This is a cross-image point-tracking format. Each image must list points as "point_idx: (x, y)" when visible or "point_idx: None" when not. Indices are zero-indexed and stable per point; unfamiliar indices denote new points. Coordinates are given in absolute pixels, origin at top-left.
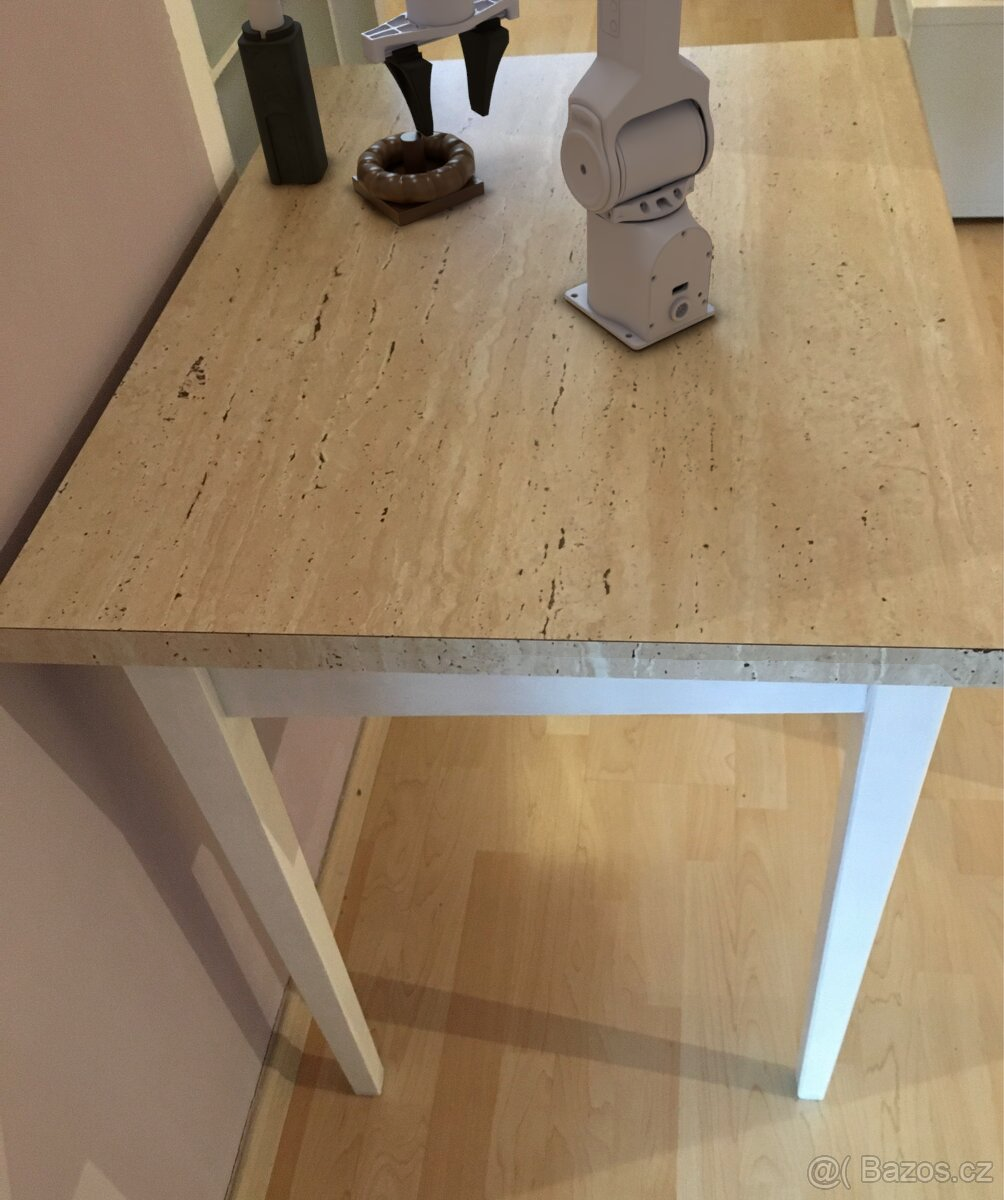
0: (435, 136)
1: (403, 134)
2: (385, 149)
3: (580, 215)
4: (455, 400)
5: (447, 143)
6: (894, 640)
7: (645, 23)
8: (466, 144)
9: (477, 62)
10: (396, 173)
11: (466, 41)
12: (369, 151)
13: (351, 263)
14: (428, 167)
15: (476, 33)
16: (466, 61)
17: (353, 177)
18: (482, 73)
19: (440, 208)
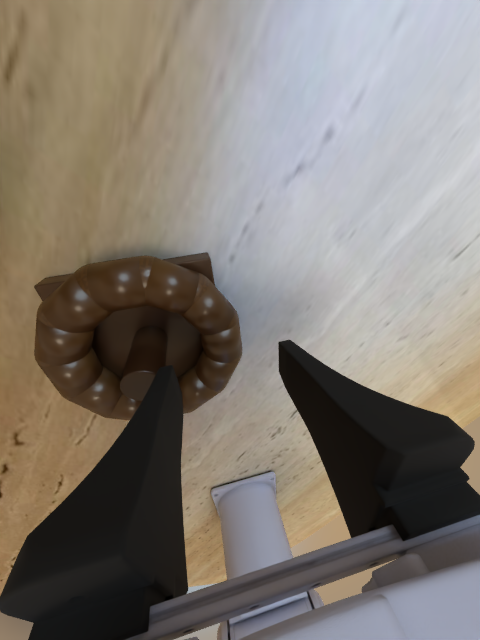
0: (202, 324)
1: (128, 377)
2: (100, 318)
3: (280, 417)
4: None
5: (211, 348)
6: (215, 583)
7: None
8: (234, 363)
9: (326, 443)
10: (123, 313)
11: (355, 453)
12: (60, 329)
13: (37, 431)
14: (178, 317)
15: (370, 525)
16: (325, 398)
17: (37, 290)
18: (315, 437)
19: None
